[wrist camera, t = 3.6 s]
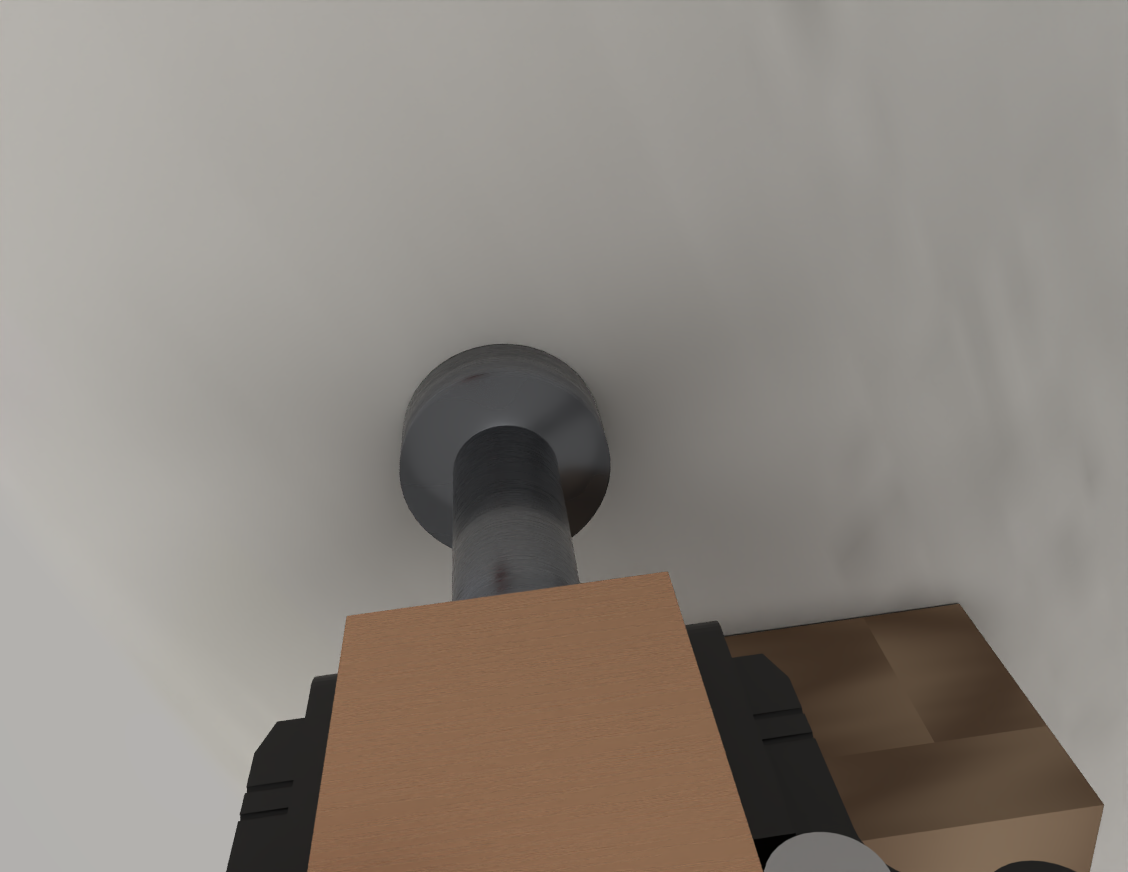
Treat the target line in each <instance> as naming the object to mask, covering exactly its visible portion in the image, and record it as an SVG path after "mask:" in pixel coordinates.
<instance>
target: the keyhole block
mask: <svg viewBox="0 0 1128 872" xmlns="http://www.w3.org/2000/svg"><path fill="white" fill-rule="evenodd" d="M724 638H725V640H726V643H727V646H728V648H729V651H730V654H731V657H732V658H734V657H741V656H748V655H755V654H762V653H763V654H764V655H765V656H766V657H767V658H768V659H769V660H770V661H771V662H773V663H774V664H775V665H776V666H777V667H778V668H779V669H780V670H781V671H782V672H784V673H785V674H786V675H787V676H788V677H789V678H790V681H791V683H792V685H793V688H794V690H795V692H796V695H797V697H798V699H799V702H800V704H801V706H802V711H803V714H804V713H805V716H806V718H807V720H808V723H809V725H810V727H811V730H812V732H813V737H814V738H815V739H816V741H817V743H818V746H819V748H820V750H821V753H822V755H823V757H824V760H825V762H826V764H827V767H828V769H829V771H830V774H831V776H832V778H833V781H834V783H835V785H836V788H837V790H838V792H839V794H840V797H841V799H842V801H843V804H844V806H845V808H846V811H847V813H848V815H849V818H850V820H851V822H852V825H853V827H854V829H855V831H856V833H857V835H858V837H859V838H860V839H861V841H862V842H863V843H864V845H865V846H867V847H869V848H870V849H871V850H872V851H874V852H875V853H876V854H877V855H878V856H879V857H880V858H881V859H882V860H883V861H884V863H885V864H887V865H889V866H890V867H892V868H893V869H895V870H897V871H899V872H994V871H996V870H997V869H999V868H1000V867H1003V866H1005V865H1007V864H1010V863H1014V862H1019V861H1031V860H1033V861H1045V862H1049V863H1054V864H1058V865H1061V866H1064V867H1067V868H1070V869H1072V870H1074V871H1076V872H1090V867H1091V863H1092V858H1093V854H1094V849H1095V844H1096V840H1097V835H1098V830H1099V826H1100V821H1101V817H1102V812H1103V807H1104V804H1103V803H1102V801H1101V800H1100V798H1099V797H1098V796H1097V794H1096V793H1095V791H1094V790H1093V789H1092V787H1091V786H1090V785H1089V783H1088V782H1087V780H1086V779H1085V778H1084V776H1083V775H1082V773H1081V772H1080V771H1079V769H1078V768H1077V766H1076V765H1075V764H1074V762H1073V761H1072V760H1071V758H1070V757H1069V755H1068V754H1067V753H1066V751H1065V750H1064V748H1063V747H1062V746H1061V744H1060V743H1059V741H1058V740H1057V739H1056V737H1055V736H1054V735H1053V733H1052V732H1051V730H1050V729H1049V728H1048V726H1047V725H1046V723H1045V722H1044V721H1043V719H1042V718H1041V716H1040V715H1039V714H1038V712H1037V711H1036V710H1035V708H1034V707H1033V705H1032V704H1031V703H1030V701H1029V700H1028V698H1027V697H1026V696H1025V694H1024V693H1023V691H1022V690H1021V689H1020V687H1019V686H1018V685H1017V683H1016V682H1015V680H1014V679H1013V678H1012V676H1011V675H1010V673H1009V672H1008V671H1007V669H1006V668H1005V667H1004V665H1003V664H1002V662H1001V661H1000V660H999V658H998V657H997V655H996V654H995V653H994V651H993V650H992V648H991V647H990V646H989V644H988V643H987V642H986V640H985V639H984V637H983V636H982V635H981V633H980V632H979V630H978V629H977V628H976V626H975V625H974V623H973V622H972V621H971V619H970V618H969V617H968V615H967V614H966V612H965V611H964V610H963V608H962V607H961V605H960V604H954V605H947V606H940V607H932V608H925V609H918V610H911V611H904V612H897V613H890V614H883V615H876V616H869V617H862V618H855V619H848V620H841V621H833V622H826V623H819V624H812V625H805V626H798V627H791V628H784V629H777V630H770V631H763V632H756V633H749V634H741V635H734V636H727V637H724Z"/></svg>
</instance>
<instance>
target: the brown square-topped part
mask: <svg viewBox="0 0 1128 872" xmlns="http://www.w3.org/2000/svg"><path fill="white" fill-rule="evenodd" d="M609 477H610V454H609V448H608V444H607V440H606V437H605V433H604V430H603V426H602V423H601V419H600V415H599V412H598V409H597V406H596V403H595V400H594V398H593V396H592V394H591V392H590V390H589V388H588V387H587V385H586V384H585V383H584V381H583V380H582V379H581V378H580V377H579V375H578V374H577V373H576V372H575V371H574V370H572V369H571V368H570V367H569V366H568V365H566V364H565V363H564V362H562V361H560V360H559V359H557V358H556V357H554V356H552V355H550V354H547V353H545V352H543V351H540V350H537V349H534V348H530V347H525V346H519V345H508V344H500V345H488V346H483V347H478V348H474V349H471V350H468V351H465V352H462V353H460V354H458V355H456V356H454V357H451V358H450V359H448V360H447V361H445V362H443V363H442V364H440V365H439V366H438V367H437V368H436V369H434V370H433V371H432V372H431V373H430V374H429V375H428V376H427V377H426V378H425V379H424V380H423V381H422V383H421V384H420V385H419V387H418V388H417V390H416V391H415V393H414V395H413V397H412V399H411V401H410V403H409V406H408V409H407V412H406V415H405V420H404V426H403V436H402V446H401V456H400V482H401V488H402V491H403V495H404V498H405V500H406V503H407V505H408V507H409V509H410V511H411V512H412V514H413V515H414V517H415V519H416V520H417V521H418V522H419V523H420V525H421V526H422V527H423V528H424V529H425V530H426V531H427V532H428V533H429V534H431V535H432V536H433V537H434V538H436V539H437V540H439V541H440V542H441V543H443V544H445V545H447V546H449V547H450V548H452V549H453V563H452V602H445V603H437V604H430V605H423V606H416V607H409V608H401V609H394V610H387V611H380V612H373V613H365V614H358V615H351V616H347V618H346V625H345V631H344V637H343V644H342V650H341V657H340V663H339V670H338V676H337V683H336V689H335V696H334V702H333V709H332V715H331V722H330V728H329V734H328V741H327V747H326V754H325V760H324V767H323V773H322V780H321V786H320V793H319V799H318V806H317V812H316V819H315V825H314V832H313V838H312V844H311V851H310V857H309V864H308V870H307V872H763V870H762V867H761V864H760V860H759V857H758V854H757V851H756V848H755V845H754V841H753V838H752V835H751V832H750V829H749V826H748V823H747V819H746V816H745V813H744V810H743V807H742V804H741V801H740V797H739V794H738V791H737V788H736V785H735V782H734V778H733V775H732V772H731V769H730V766H729V763H728V760H727V756H726V753H725V750H724V747H723V744H722V741H721V737H720V734H719V731H718V728H717V725H716V722H715V719H714V715H713V712H712V709H711V706H710V703H709V700H708V697H707V693H706V690H705V687H704V684H703V681H702V678H701V674H700V671H699V668H698V665H697V662H696V659H695V656H694V652H693V649H692V646H691V643H690V640H689V637H688V634H687V630H686V627H685V624H684V621H683V618H682V615H681V611H680V608H679V605H678V602H677V599H676V596H675V593H674V589H673V586H672V583H671V580H670V577H669V574H668V572H661V573H653V574H646V575H639V576H632V577H625V578H617V579H610V580H603V581H596V582H589V583H581V584H580V582H579V577H578V571H577V566H576V560H575V555H574V549H573V544H572V538H571V537H573V536H574V535H575V534H577V533H578V532H579V531H580V530H581V529H582V528H583V527H584V526H585V525H586V524H587V523H588V522H589V521H590V519H591V518H592V517H593V516H594V514H595V513H596V511H597V509H598V508H599V506H600V505H601V502H602V500H603V498H604V496H605V493H606V490H607V486H608V483H609Z"/></svg>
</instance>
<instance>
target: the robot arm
mask: <svg viewBox="0 0 1128 872" xmlns="http://www.w3.org/2000/svg"><path fill="white" fill-rule="evenodd" d="M685 627H686V630H687V634H688V637H689V640H690V643H691V646H692V649H693V652H694V656H695V659H696V662H697V665H698V668H699V671H700V674H701V678H702V681H703V684H704V687H705V690H706V693H707V697H708V700H709V703H710V706H711V709H712V712H713V715H714V719H715V722H716V725H717V728H718V731H719V734H720V737H721V741H722V744H723V747H724V750H725V753H726V756H727V760H728V763H729V766H730V769H731V772H732V775H733V778H734V782H735V785H736V788H737V791H738V794H739V797H740V801H741V804H742V807H743V810H744V813H745V816H746V819H747V823H748V826H749V829H750V832H751V835H752V838H753V841H754V845H755V848H756V851H757V854H758V857H759V860H760V864H761V867H762V870H763V872H899V871H897V870H895V869H893V868H892V867H890V866H889V865H887V864H885V863H884V861H883V860H882V859H881V858H880V857H879V856H878V855H877V854H876V853H875V852H874V851H872V850H871V849H870V848H869V847H867V846H865V845H864V843H863V842H862V841H861V839H860V838H859V837H858V835H857V833H856V831H855V829H854V827H853V825H852V822H851V820H850V818H849V815H848V813H847V811H846V808H845V806H844V804H843V801H842V799H841V797H840V794H839V792H838V790H837V788H836V785H835V783H834V781H833V778H832V776H831V774H830V771H829V769H828V767H827V764H826V762H825V760H824V757H823V755H822V753H821V750H820V748H819V746H818V743H817V741H816V739H815V738H814V737H813V732H812V730H811V727H810V725H809V723H808V720H807V718H806V716H805V713H804V714H803V711H802V706H801V704H800V702H799V699H798V697H797V695H796V692H795V690H794V688H793V685H792V683H791V681H790V678H789V677H788V676H787V675H786V674H785V673H784V672H782V671H781V670H780V669H779V668H778V667H777V666H776V665H775V664H774V663H773V662H771V661H770V660H769V659H768V658H767V657H766V656H765V655H764V654H763V653H762V654H755V655H748V656H741V657H734V658H732V657H731V654H730V651H729V648H728V646H727V643H726V640H725V638H724V635H723V632H722V629H721V627H720V625H719V623H718V622H717V621H712V622H705V623H698V624H691V625H685ZM337 676H338V674H331V675H324V676H317V677H314V679H313V681H312V684H311V689H310V694H309V700H308V705H307V710H306V716H305V718H300V719H293V720H286V721H279V722H277V723H276V724H275V726H274V727H273V728H272V730H271V731H270V732H269V734H268V735H267V737H266V738H265V739H264V741H263V742H262V744H261V745H260V746H259V748H258V749H257V750H256V752H255V753H254V757H253V761H252V766H251V770H250V774H249V778H248V782H247V793H245V795H244V799H243V803H242V808H241V812H240V821H238V824H237V829H236V833H235V837H234V842H233V845H232V850H231V854H230V858H229V862H228V866H227V871H226V872H307V870H308V864H309V857H310V851H311V844H312V838H313V832H314V825H315V819H316V812H317V806H318V799H319V793H320V786H321V780H322V773H323V767H324V760H325V754H326V747H327V741H328V734H329V728H330V722H331V715H332V709H333V702H334V696H335V689H336V683H337ZM994 872H1076V871H1074V870H1072V869H1070V868H1067V867H1064V866H1061V865H1058V864H1054V863H1049V862H1045V861H1033V860H1031V861H1019V862H1014V863H1010V864H1007V865H1005V866H1003V867H1000V868H999V869H997V870H996V871H994Z"/></svg>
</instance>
